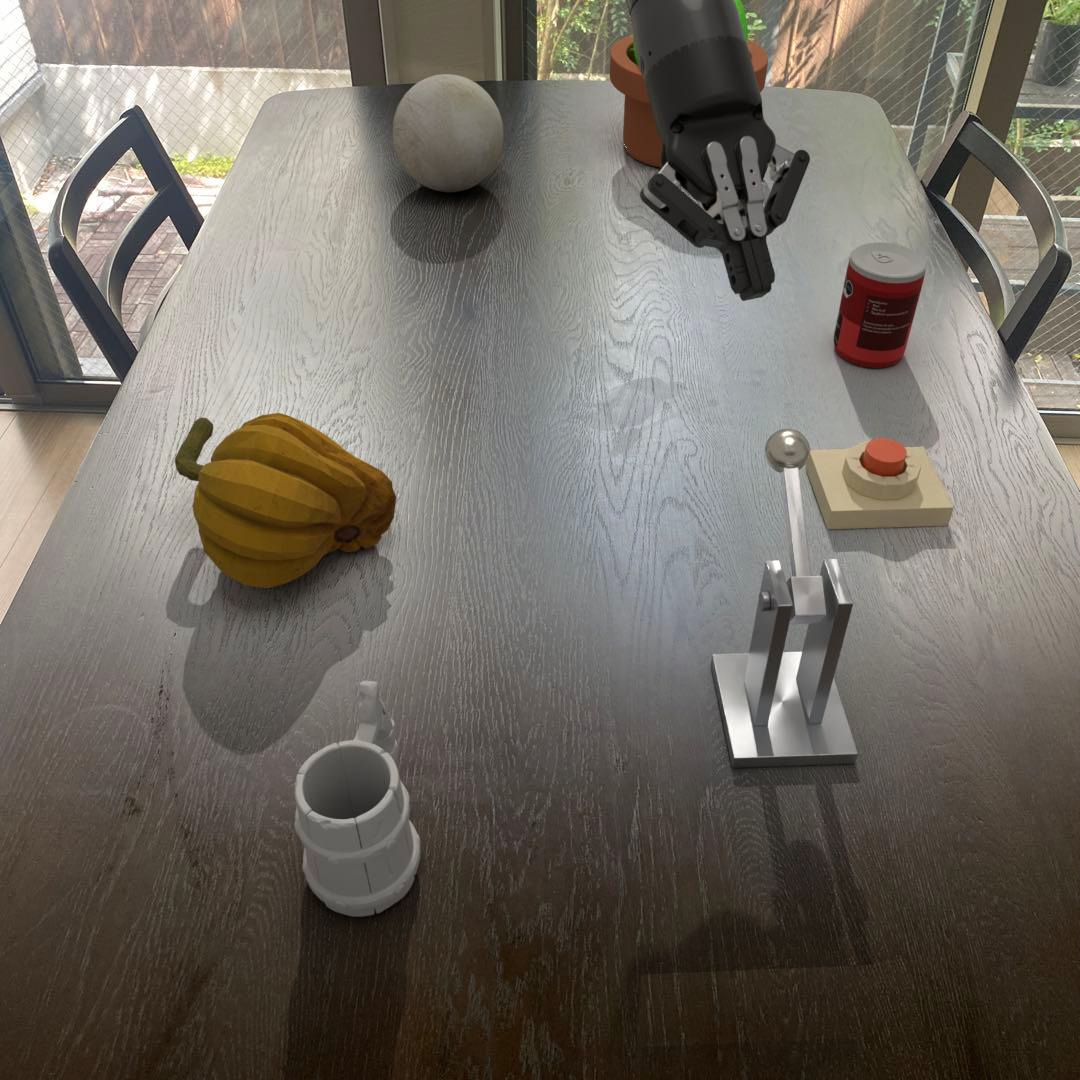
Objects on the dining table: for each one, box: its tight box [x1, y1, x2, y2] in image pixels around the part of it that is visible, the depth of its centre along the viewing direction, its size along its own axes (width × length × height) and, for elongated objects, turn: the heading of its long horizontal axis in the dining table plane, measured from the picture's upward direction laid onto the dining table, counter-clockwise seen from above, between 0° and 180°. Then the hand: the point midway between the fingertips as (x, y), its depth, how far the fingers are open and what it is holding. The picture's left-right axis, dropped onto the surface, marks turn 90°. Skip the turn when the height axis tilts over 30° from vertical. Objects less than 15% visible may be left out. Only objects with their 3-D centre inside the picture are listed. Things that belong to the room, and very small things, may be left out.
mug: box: [293, 680, 421, 918], centre depth 70 cm, size 8×12×12 cm, turn 172°
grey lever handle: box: [763, 428, 827, 625], centre depth 76 cm, size 14×3×3 cm, turn 2°
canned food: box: [833, 241, 927, 369], centre depth 116 cm, size 8×8×11 cm
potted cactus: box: [609, 0, 769, 169], centre depth 153 cm, size 22×22×25 cm
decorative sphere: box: [392, 73, 505, 193], centre depth 147 cm, size 15×15×15 cm
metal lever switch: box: [710, 557, 859, 769], centre depth 77 cm, size 10×9×14 cm
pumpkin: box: [174, 412, 397, 589], centre depth 91 cm, size 14×16×20 cm
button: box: [862, 437, 907, 477], centre depth 98 cm, size 4×4×2 cm
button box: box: [805, 440, 955, 530], centre depth 99 cm, size 11×9×4 cm
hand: (757, 295), depth 76 cm, fingers closed
